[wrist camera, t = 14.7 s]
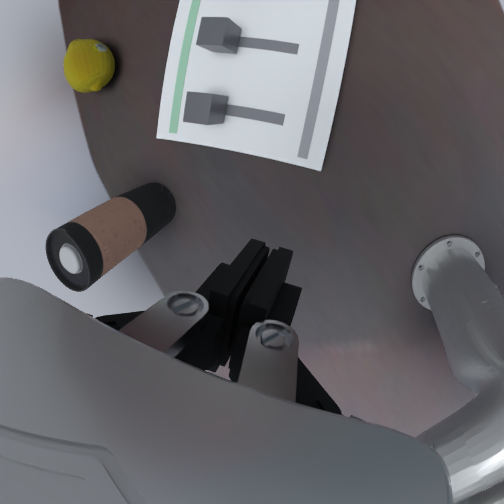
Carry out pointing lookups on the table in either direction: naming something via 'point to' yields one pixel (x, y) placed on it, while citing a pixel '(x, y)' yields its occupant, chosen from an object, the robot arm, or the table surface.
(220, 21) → the block
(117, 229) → the travel mug
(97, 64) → the lemon
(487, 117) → the table surface
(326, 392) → the robot arm
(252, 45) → the breaker panel
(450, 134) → the table surface
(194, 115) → the block
